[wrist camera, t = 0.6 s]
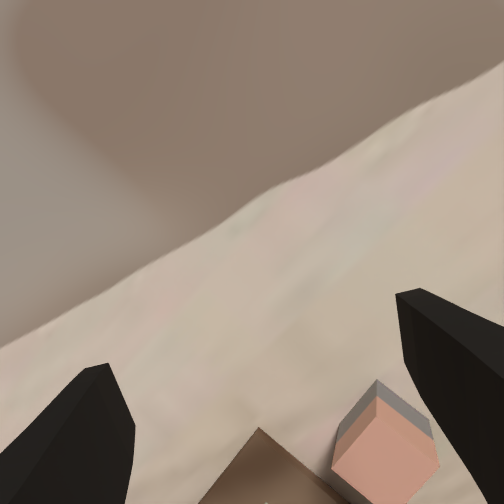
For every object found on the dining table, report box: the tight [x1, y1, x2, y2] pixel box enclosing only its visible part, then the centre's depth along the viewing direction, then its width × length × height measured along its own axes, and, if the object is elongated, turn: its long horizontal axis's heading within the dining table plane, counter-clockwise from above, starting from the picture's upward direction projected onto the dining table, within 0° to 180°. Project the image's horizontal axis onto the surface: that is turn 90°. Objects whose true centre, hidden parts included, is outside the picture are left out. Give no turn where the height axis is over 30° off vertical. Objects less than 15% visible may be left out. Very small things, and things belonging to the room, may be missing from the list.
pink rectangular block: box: [331, 380, 440, 504], centre depth 29 cm, size 4×4×6 cm
